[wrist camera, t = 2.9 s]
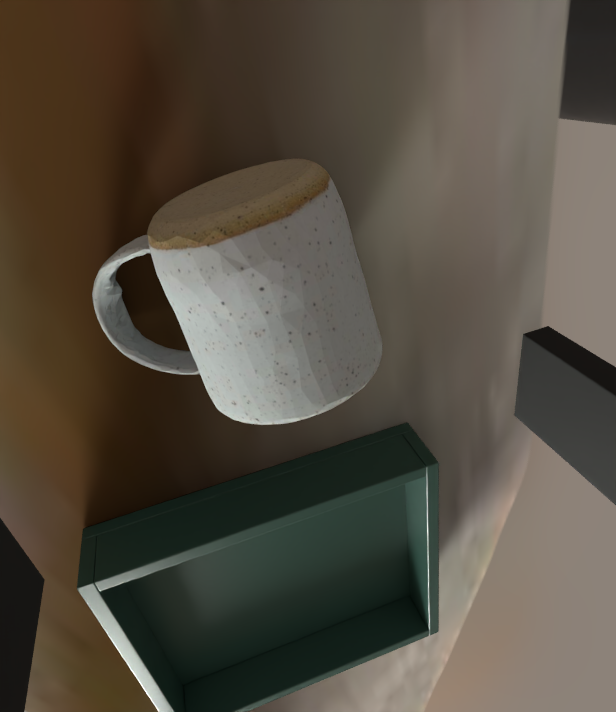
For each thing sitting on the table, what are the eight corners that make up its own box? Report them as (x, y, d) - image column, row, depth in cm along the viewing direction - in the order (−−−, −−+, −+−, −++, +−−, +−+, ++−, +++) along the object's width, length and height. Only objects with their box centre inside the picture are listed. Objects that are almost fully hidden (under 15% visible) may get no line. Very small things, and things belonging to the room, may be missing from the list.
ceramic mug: (298, 135, 21) (369, 166, 14) (346, 301, 25) (416, 382, 19) (53, 230, 20) (12, 309, 13) (148, 384, 24) (151, 498, 18)
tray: (407, 422, 31) (439, 462, 28) (414, 588, 40) (438, 632, 37) (82, 528, 27) (76, 588, 24) (173, 683, 37) (178, 741, 33)
